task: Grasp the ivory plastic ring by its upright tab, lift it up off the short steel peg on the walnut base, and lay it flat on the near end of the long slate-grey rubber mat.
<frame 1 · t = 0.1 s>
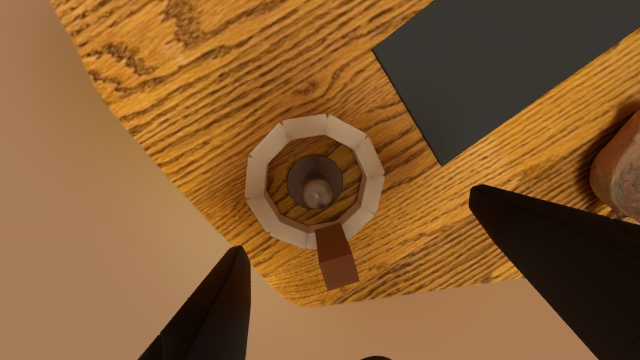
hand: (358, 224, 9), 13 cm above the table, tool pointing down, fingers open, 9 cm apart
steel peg: (314, 181, 22), on the table
oil lamp: (606, 168, 25), on the table
ivory ring: (314, 181, 22), on the table
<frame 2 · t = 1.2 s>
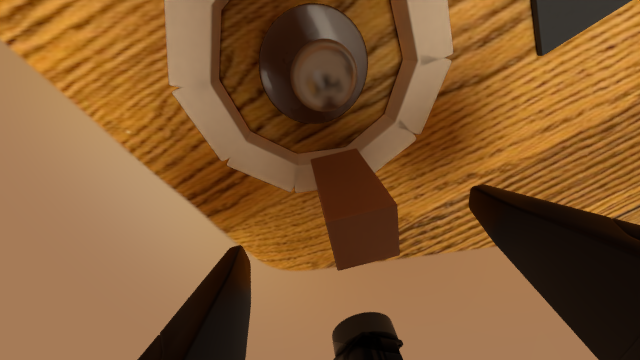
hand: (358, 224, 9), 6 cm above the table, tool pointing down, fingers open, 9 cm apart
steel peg: (313, 68, 12), on the table
ivory ring: (313, 68, 12), on the table
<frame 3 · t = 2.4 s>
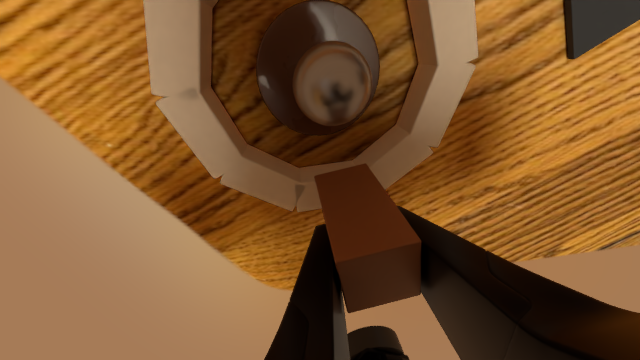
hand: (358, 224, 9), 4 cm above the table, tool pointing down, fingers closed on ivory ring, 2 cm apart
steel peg: (318, 74, 10), on the table
ivory ring: (317, 74, 10), on the table, touching gripper
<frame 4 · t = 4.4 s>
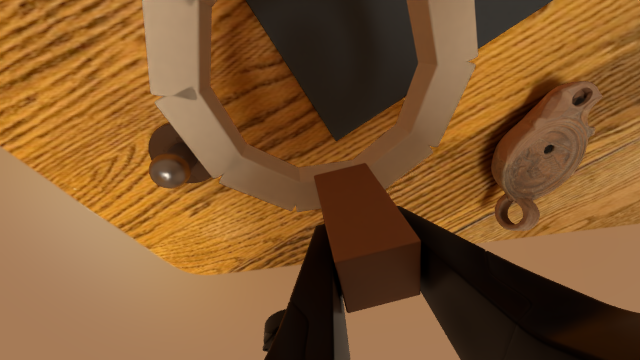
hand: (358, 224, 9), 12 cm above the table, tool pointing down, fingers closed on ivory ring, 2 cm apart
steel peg: (187, 152, 19), on the table
oil lamp: (513, 150, 24), on the table
ivory ring: (317, 74, 10), point 8 cm above the table, touching gripper
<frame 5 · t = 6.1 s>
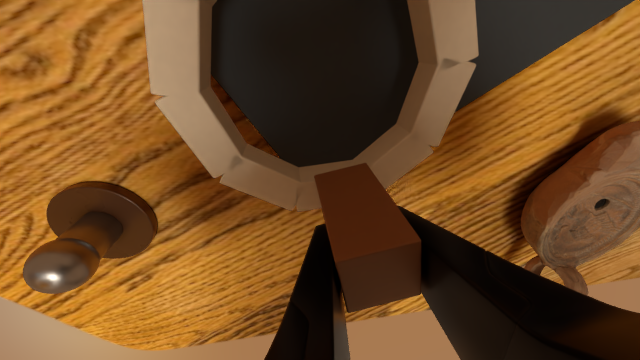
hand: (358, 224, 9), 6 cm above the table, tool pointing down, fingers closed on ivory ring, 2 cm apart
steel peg: (109, 219, 14), on the table
oil lamp: (548, 198, 18), on the table
ivory ring: (317, 73, 10), point 2 cm above the table, touching gripper
when the fingers open (4 cm above the table, at t = 6.7 s): ivory ring stays where it is, resting on rubber mat.
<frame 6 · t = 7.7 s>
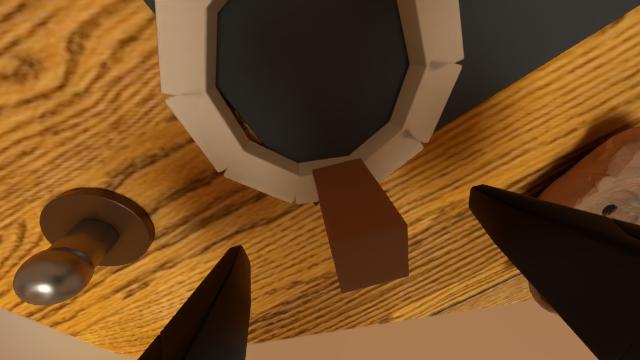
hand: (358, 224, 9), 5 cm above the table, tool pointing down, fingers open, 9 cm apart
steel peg: (104, 226, 14), on the table
oil lamp: (553, 203, 18), on the table
ivory ring: (315, 74, 11), resting on rubber mat
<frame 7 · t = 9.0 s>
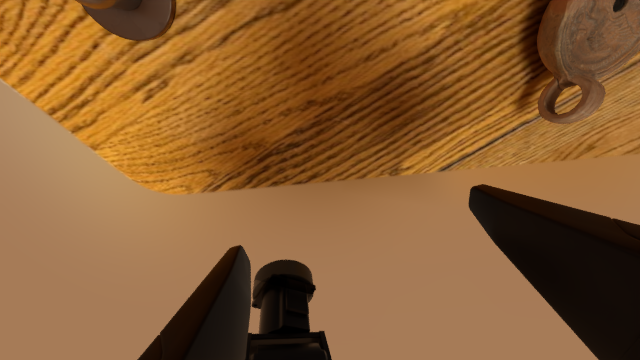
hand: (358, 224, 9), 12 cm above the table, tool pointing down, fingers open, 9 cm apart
oil lamp: (564, 23, 18), on the table
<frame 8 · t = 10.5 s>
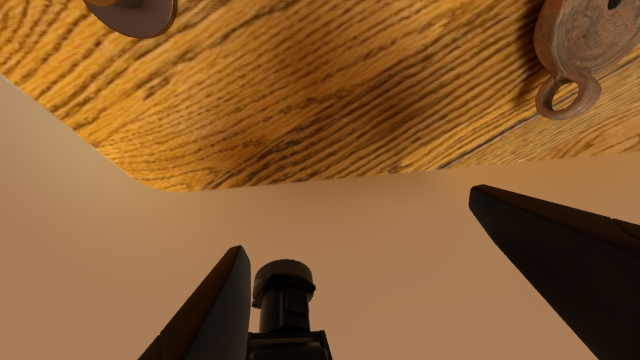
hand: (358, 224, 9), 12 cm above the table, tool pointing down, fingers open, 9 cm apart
oil lamp: (560, 21, 18), on the table
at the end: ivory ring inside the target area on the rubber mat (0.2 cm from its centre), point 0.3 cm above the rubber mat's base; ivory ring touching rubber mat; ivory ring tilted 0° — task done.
